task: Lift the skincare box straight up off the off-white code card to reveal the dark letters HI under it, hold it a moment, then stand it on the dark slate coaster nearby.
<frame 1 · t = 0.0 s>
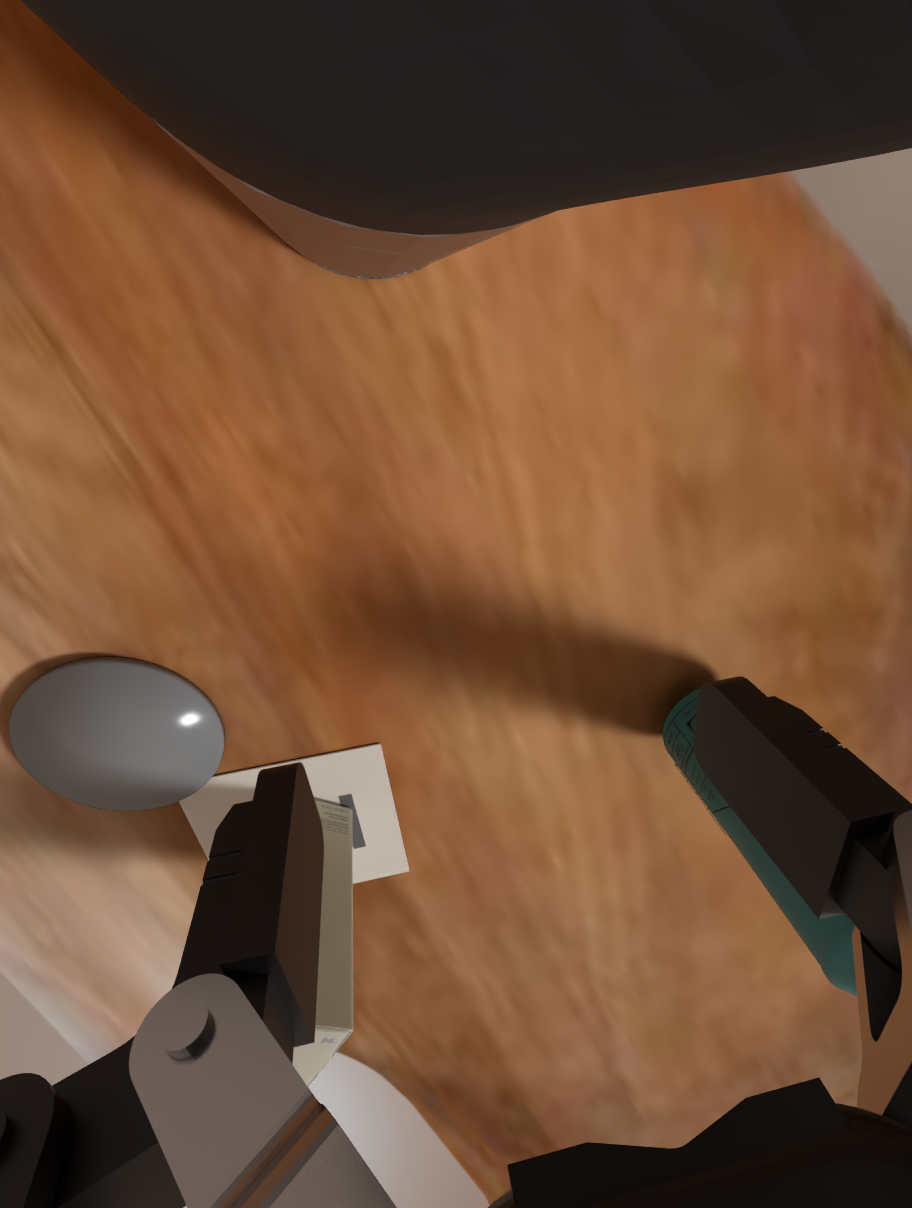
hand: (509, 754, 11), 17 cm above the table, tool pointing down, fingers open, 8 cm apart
slate coaster: (124, 735, 29), on the table
beverage bottle: (692, 703, 36), on the table
code card: (302, 831, 35), on the table
skincare box: (302, 830, 35), resting on code card
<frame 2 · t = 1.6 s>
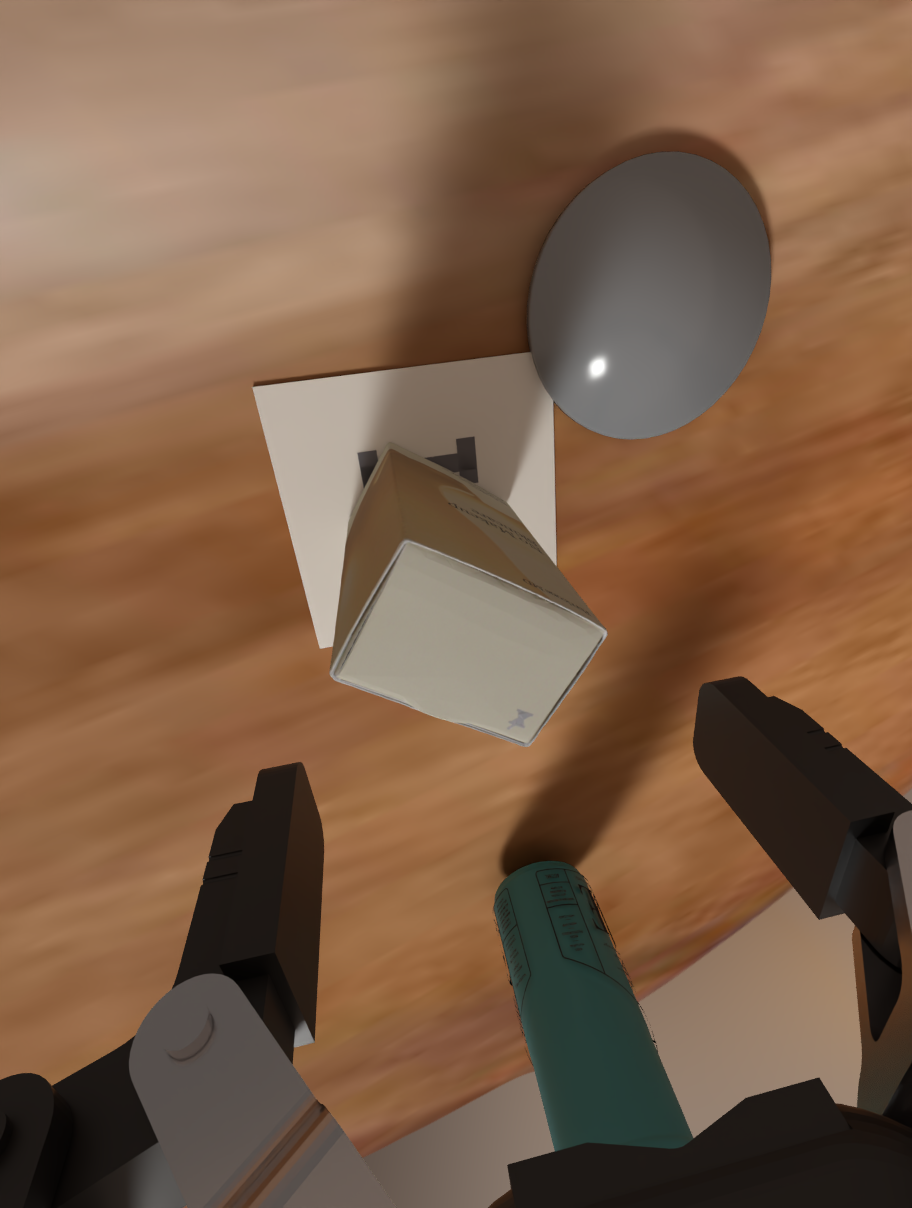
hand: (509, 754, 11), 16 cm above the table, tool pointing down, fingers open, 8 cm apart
slate coaster: (645, 310, 23), on the table
beverage bottle: (532, 869, 38), on the table
code card: (425, 511, 25), on the table
skincare box: (425, 511, 25), resting on code card
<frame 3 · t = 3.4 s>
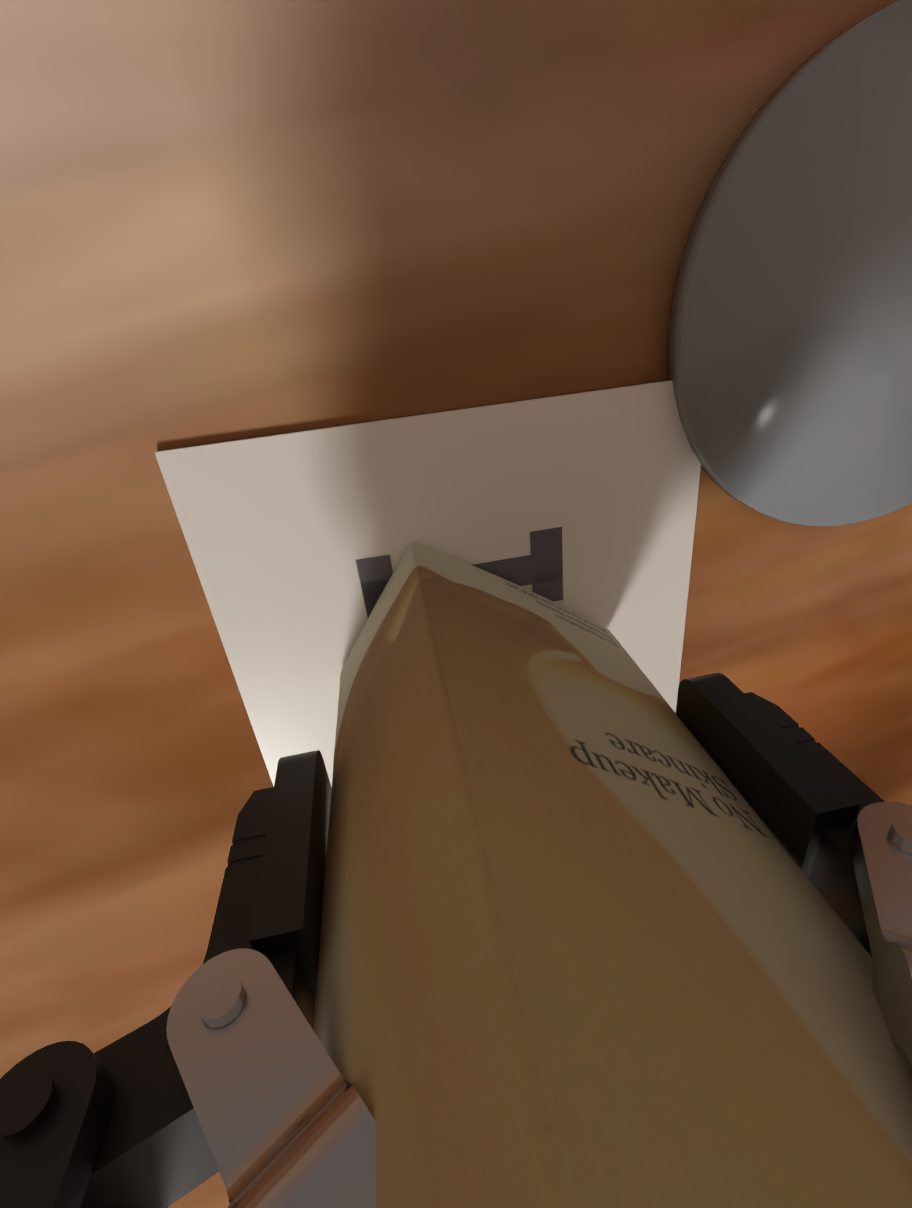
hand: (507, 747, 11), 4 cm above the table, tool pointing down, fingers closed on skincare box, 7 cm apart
slate coaster: (879, 304, 12), on the table
code card: (471, 647, 15), on the table
skincare box: (470, 645, 15), resting on code card, touching gripper
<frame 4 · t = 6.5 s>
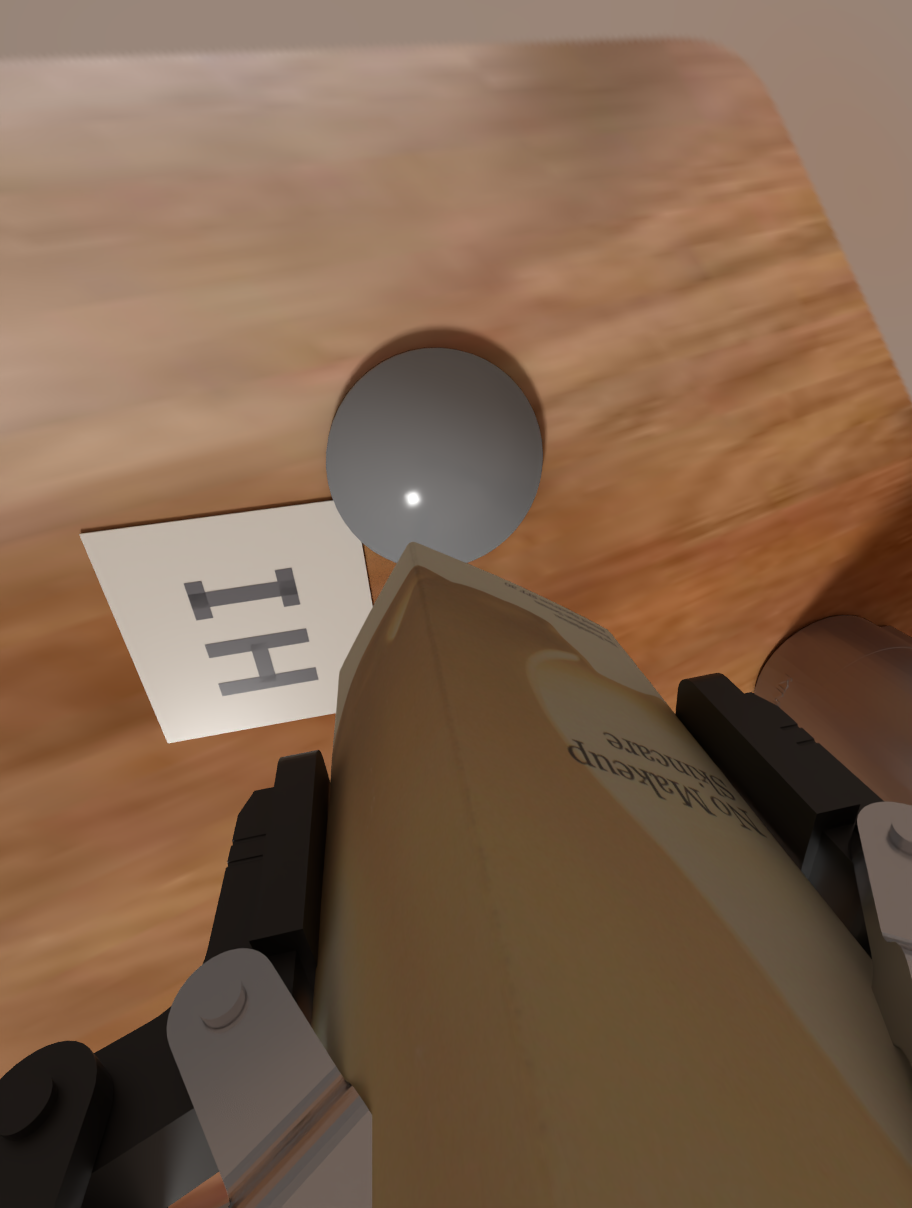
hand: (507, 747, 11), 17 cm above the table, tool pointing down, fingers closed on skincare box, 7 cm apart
slate coaster: (436, 465, 26), on the table
code card: (254, 628, 28), on the table
skincare box: (469, 645, 15), point 13 cm above the table, touching gripper
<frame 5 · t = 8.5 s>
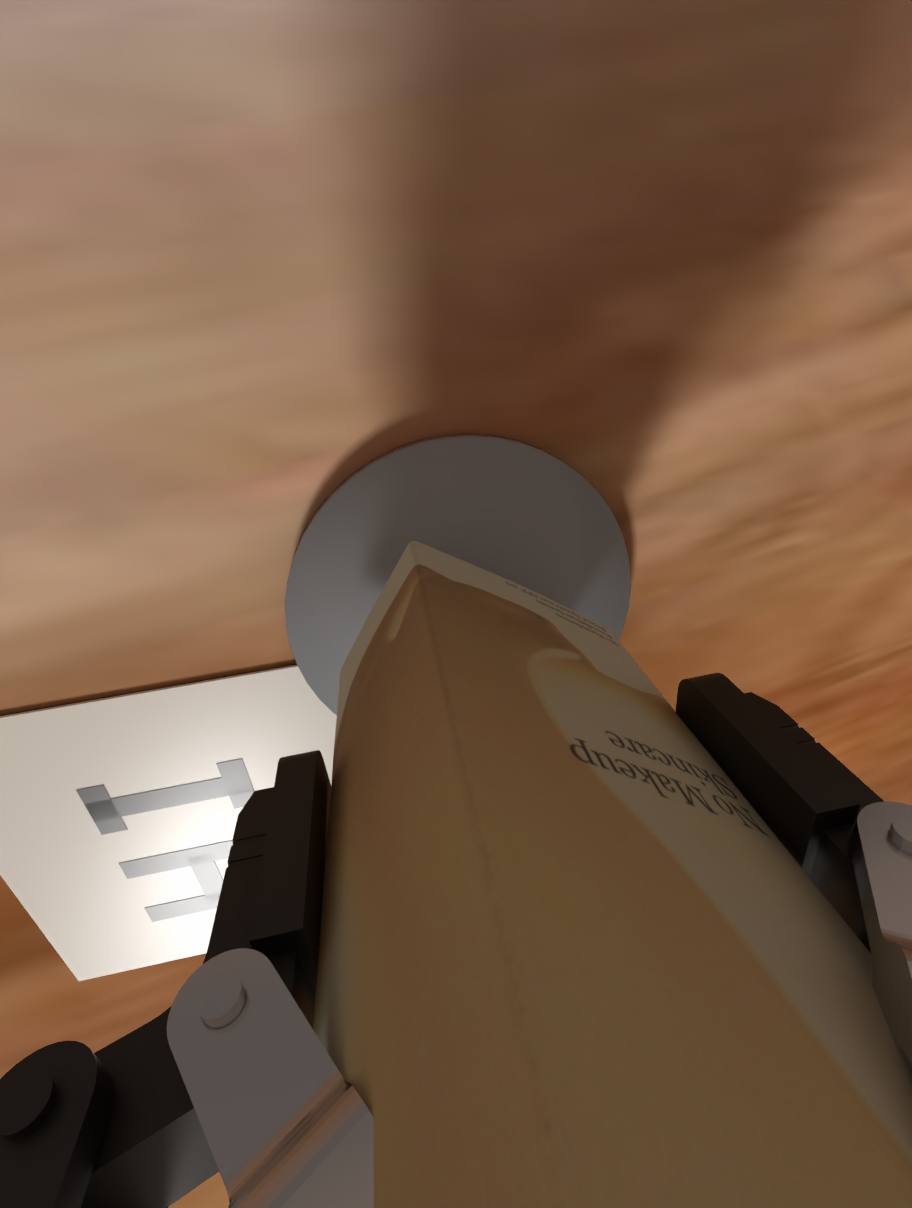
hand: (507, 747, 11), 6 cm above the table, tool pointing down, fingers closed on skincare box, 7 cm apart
slate coaster: (462, 606, 16), on the table
code card: (192, 837, 19), on the table
skincare box: (470, 644, 15), point 2 cm above the table, touching gripper
when the fingers open (5 cm above the table, at t = 9.7 s): skincare box stays where it is, resting on slate coaster.
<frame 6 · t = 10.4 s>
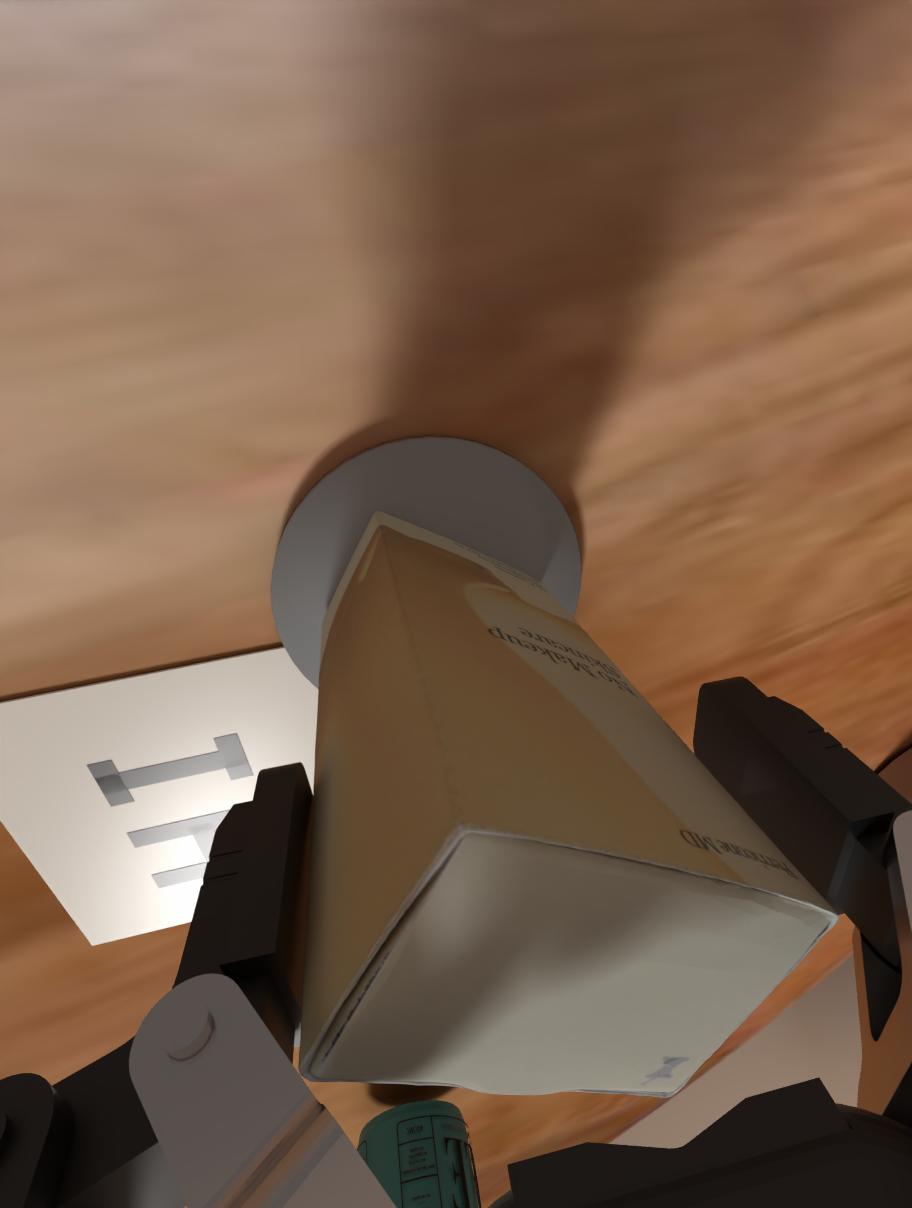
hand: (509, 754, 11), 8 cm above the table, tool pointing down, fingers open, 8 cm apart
slate coaster: (430, 590, 18), on the table
beverage bottle: (409, 1091, 33), on the table
code card: (193, 807, 21), on the table
skincare box: (429, 599, 18), point 1 cm above the table, touching slate coaster
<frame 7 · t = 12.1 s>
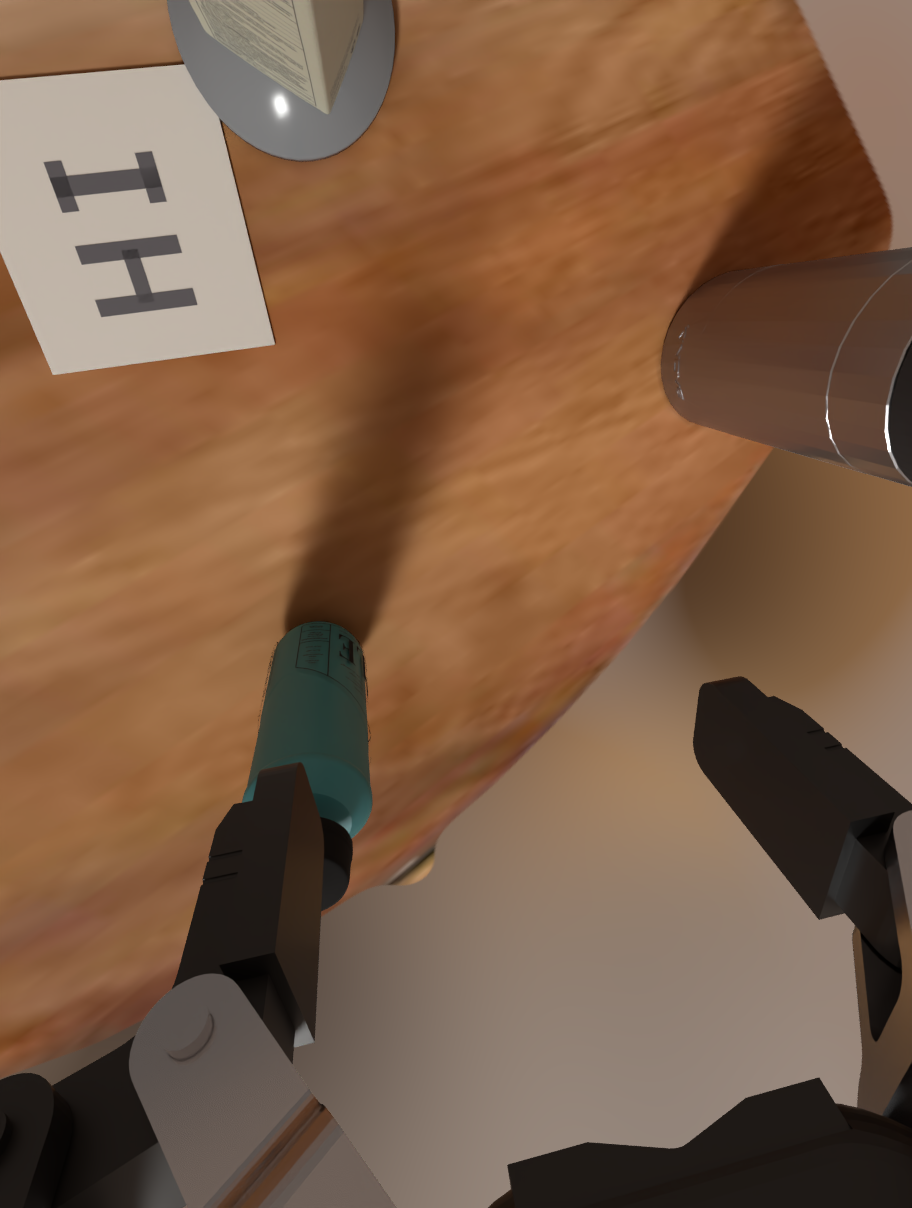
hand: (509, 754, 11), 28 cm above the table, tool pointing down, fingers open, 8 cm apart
slate coaster: (286, 27, 26), on the table
beverage bottle: (321, 645, 41), on the table
code card: (123, 231, 28), on the table
skincare box: (281, 24, 25), resting on slate coaster
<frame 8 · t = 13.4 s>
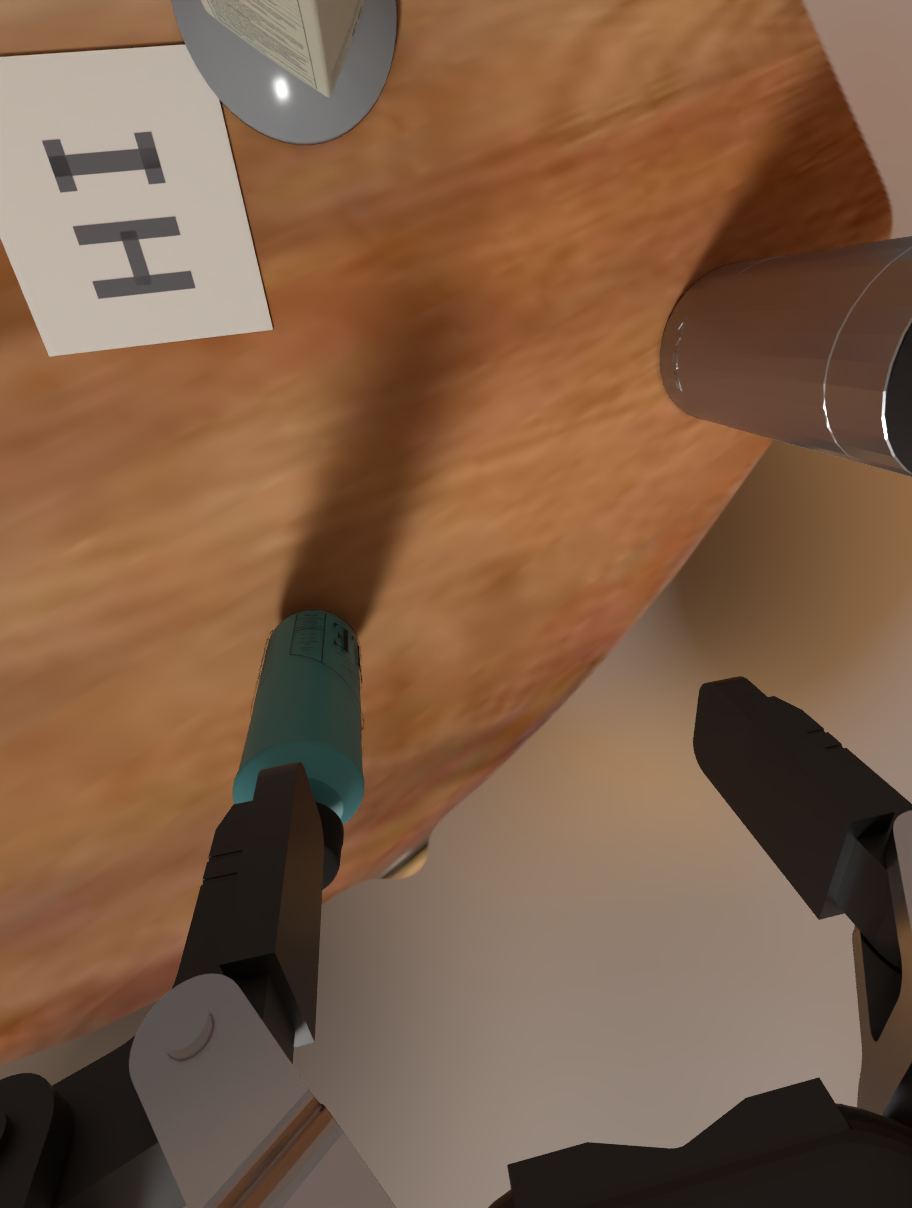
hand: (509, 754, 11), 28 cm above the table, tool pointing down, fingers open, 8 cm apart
slate coaster: (287, 8, 26), on the table
beverage bottle: (316, 634, 41), on the table
code card: (122, 212, 28), on the table
skincare box: (283, 5, 25), resting on slate coaster
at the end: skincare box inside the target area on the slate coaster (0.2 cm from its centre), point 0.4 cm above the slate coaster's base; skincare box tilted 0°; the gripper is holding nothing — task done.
